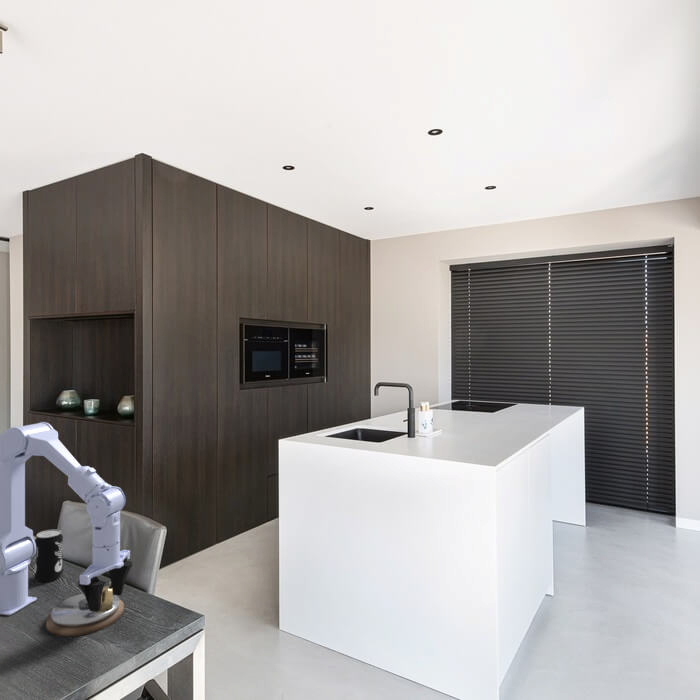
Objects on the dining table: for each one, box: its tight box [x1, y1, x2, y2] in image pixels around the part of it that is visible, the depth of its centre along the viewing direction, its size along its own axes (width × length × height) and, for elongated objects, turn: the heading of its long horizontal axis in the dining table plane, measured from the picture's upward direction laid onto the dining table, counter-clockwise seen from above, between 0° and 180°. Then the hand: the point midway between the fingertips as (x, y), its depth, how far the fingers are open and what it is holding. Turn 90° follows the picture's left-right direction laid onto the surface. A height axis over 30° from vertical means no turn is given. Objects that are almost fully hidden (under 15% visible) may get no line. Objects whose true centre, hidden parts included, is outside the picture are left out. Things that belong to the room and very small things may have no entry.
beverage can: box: [33, 529, 64, 583], centre depth 140 cm, size 7×7×12 cm
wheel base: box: [45, 581, 125, 637], centre depth 121 cm, size 16×18×4 cm
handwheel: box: [50, 585, 120, 627], centre depth 120 cm, size 14×14×6 cm
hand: (106, 602), depth 119 cm, fingers open, 7 cm apart
